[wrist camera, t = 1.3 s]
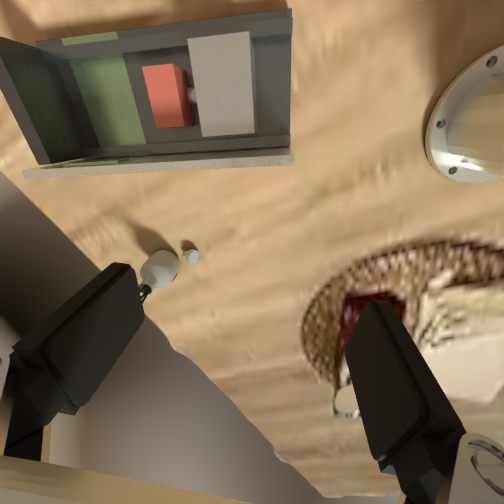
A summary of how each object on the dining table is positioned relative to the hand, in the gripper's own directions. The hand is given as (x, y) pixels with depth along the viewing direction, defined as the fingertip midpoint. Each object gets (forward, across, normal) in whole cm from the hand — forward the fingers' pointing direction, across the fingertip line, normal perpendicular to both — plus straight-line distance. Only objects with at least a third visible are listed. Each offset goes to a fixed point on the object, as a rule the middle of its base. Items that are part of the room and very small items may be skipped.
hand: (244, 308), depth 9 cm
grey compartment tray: (+23, +12, -8) cm, 27 cm away
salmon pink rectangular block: (+22, +11, -8) cm, 25 cm away
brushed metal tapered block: (+22, +6, -8) cm, 24 cm away
